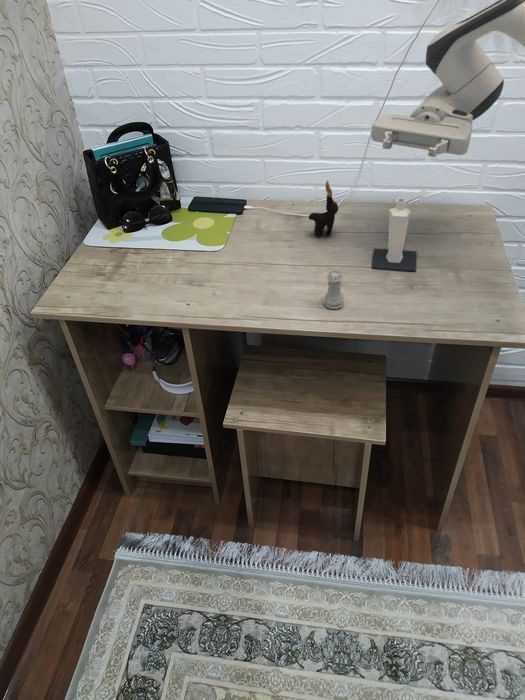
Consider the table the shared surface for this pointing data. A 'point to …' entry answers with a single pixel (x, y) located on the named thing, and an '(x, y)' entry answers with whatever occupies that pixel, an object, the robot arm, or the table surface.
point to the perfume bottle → (397, 230)
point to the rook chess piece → (334, 291)
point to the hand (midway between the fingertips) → (408, 149)
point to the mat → (382, 263)
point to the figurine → (325, 215)
